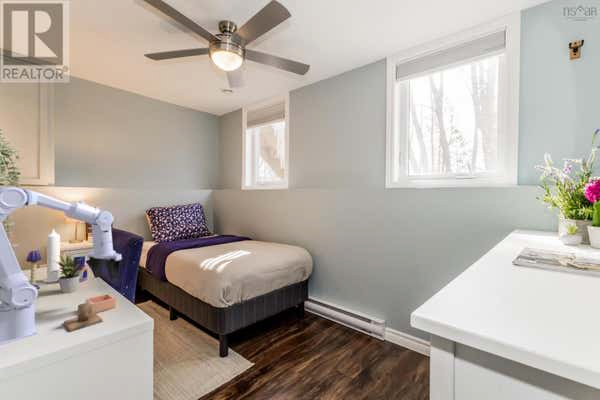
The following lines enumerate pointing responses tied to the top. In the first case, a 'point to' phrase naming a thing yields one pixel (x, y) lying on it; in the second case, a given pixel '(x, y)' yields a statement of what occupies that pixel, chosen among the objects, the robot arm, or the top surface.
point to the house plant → (68, 275)
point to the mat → (77, 329)
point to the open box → (100, 303)
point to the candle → (53, 257)
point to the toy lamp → (33, 266)
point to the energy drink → (84, 266)
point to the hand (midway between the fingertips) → (106, 277)
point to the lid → (82, 318)
